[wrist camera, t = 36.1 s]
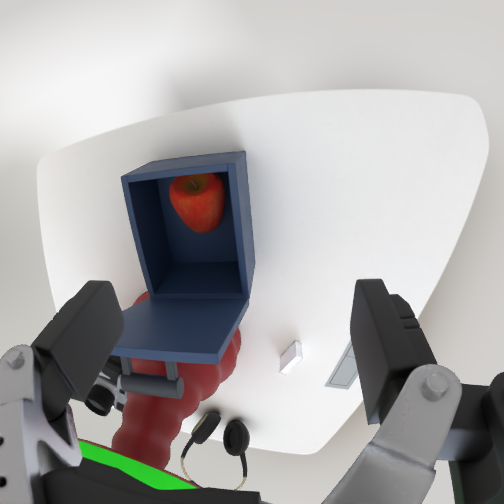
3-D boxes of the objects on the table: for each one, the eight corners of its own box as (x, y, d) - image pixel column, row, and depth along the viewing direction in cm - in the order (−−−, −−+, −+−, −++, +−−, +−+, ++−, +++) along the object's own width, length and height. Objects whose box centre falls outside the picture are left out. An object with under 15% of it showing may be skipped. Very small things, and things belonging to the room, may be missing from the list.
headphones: (201, 399, 59) (180, 480, 41) (261, 421, 61) (253, 499, 43) (187, 414, 63) (167, 487, 45) (243, 435, 65) (234, 506, 47)
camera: (77, 374, 46) (124, 400, 47) (101, 341, 55) (144, 363, 56) (80, 413, 54) (118, 434, 54) (99, 384, 63) (134, 403, 63)
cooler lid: (65, 339, 20) (79, 393, 20) (217, 353, 19) (223, 416, 19) (148, 297, 36) (153, 335, 37) (249, 297, 35) (250, 338, 35)
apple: (217, 198, 41) (208, 154, 35) (238, 228, 38) (231, 182, 32) (175, 217, 39) (159, 175, 33) (192, 250, 36) (176, 207, 30)
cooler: (151, 161, 38) (120, 176, 30) (245, 150, 36) (235, 162, 29) (171, 265, 45) (150, 299, 37) (255, 263, 43) (249, 299, 35)
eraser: (301, 343, 49) (302, 358, 46) (285, 359, 51) (285, 375, 48) (295, 340, 49) (296, 356, 46) (279, 357, 51) (279, 372, 48)
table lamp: (131, 270, 46) (-29, 533, 6) (253, 303, 46) (202, 635, 6) (132, 353, 55) (43, 555, 15) (229, 381, 55) (187, 607, 15)
